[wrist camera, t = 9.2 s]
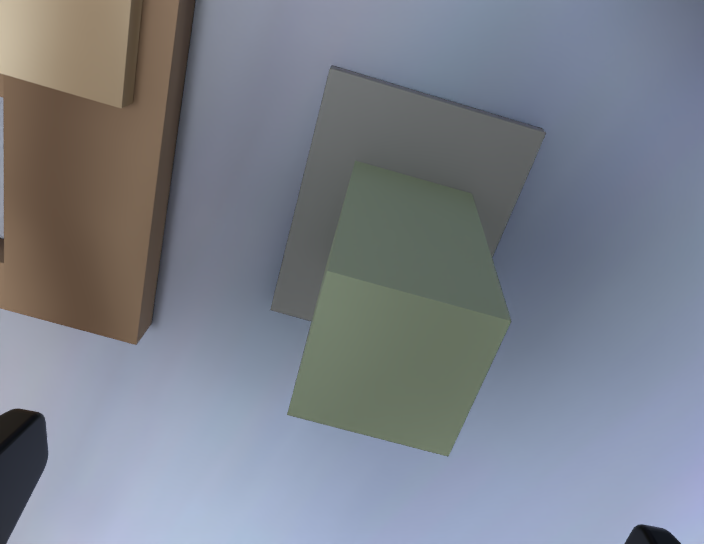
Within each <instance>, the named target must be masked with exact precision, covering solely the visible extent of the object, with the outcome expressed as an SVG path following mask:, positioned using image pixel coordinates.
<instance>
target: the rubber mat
mask: <svg viewBox="0 0 704 544" xmlns="http://www.w3.org/2000/svg"><path fill="white" fill-rule="evenodd" d="M545 134H546V132H545V131H544V130H543V129H542V128H539V127H535V126H532V125H529V124H525V123H522V122H519V121H515V120H512V119H509V118H505V117H502V116H499V115H495V114H492V113H489V112H485V111H482V110H479V109H475V108H472V107H469V106H465V105H462V104H459V103H455V102H452V101H449V100H445V99H442V98H439V97H435V96H432V95H429V94H425V93H422V92H419V91H415V90H412V89H409V88H405V87H402V86H399V85H395V84H392V83H389V82H385V81H382V80H379V79H376V78H372V77H369V76H366V75H362V74H359V73H356V72H352V71H349V70H346V69H342V68H339V67H336V66H331V67H330V70H329V74H328V78H327V82H326V86H325V90H324V94H323V98H322V102H321V106H320V110H319V114H318V118H317V122H316V126H315V131H314V135H313V139H312V143H311V147H310V151H309V155H308V159H307V163H306V167H305V171H304V175H303V179H302V183H301V187H300V192H299V196H298V200H297V204H296V208H295V212H294V216H293V220H292V224H291V228H290V232H289V236H288V240H287V244H286V248H285V252H284V257H283V261H282V265H281V269H280V273H279V277H278V281H277V285H276V289H275V293H274V297H273V301H272V305H271V309H270V310H272V311H276V312H279V313H283V314H286V315H290V316H294V317H297V318H301V319H305V320H308V321H312V318H313V314H314V310H315V306H316V303H317V299H318V295H319V291H320V287H321V283H322V280H323V276H324V272H325V268H326V264H327V261H328V257H329V254H330V250H331V246H332V243H333V239H334V235H335V232H336V228H337V225H338V221H339V217H340V214H341V210H342V206H343V203H344V199H345V196H346V192H347V188H348V185H349V181H350V177H351V174H352V170H353V167H354V163H355V161H359V162H362V163H366V164H369V165H373V166H376V167H380V168H383V169H387V170H390V171H394V172H397V173H401V174H404V175H408V176H412V177H415V178H419V179H422V180H426V181H429V182H433V183H436V184H440V185H443V186H447V187H450V188H454V189H457V190H461V191H465V192H468V193H472V195H473V199H474V202H475V205H476V208H477V211H478V215H479V218H480V221H481V224H482V228H483V231H484V234H485V237H486V241H487V244H488V247H489V250H490V254H491V257H493V255H494V252H495V250H496V248H497V245H498V243H499V241H500V238H501V236H502V234H503V231H504V229H505V227H506V225H507V222H508V220H509V218H510V215H511V213H512V211H513V208H514V206H515V204H516V201H517V199H518V197H519V195H520V192H521V190H522V188H523V185H524V183H525V181H526V178H527V176H528V174H529V171H530V169H531V167H532V164H533V162H534V160H535V158H536V155H537V153H538V151H539V148H540V146H541V144H542V141H543V139H544V137H545Z"/></svg>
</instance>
